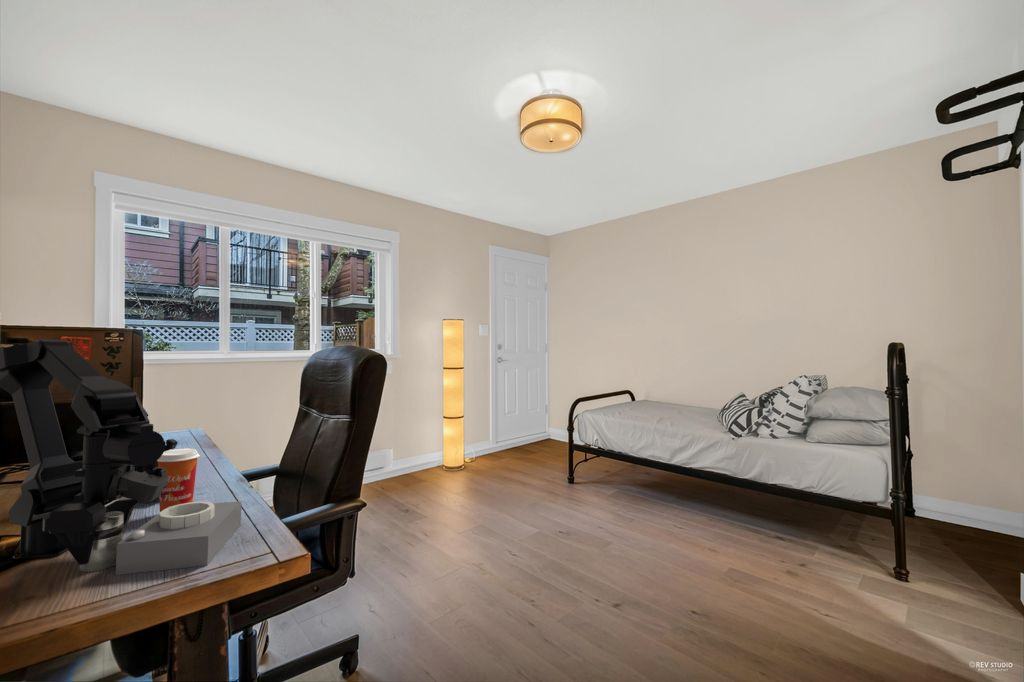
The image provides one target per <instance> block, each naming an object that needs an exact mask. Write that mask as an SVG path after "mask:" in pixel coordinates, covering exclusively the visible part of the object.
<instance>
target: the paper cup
mask: <svg viewBox="0 0 1024 682" xmlns="http://www.w3.org/2000/svg"><path fill="white" fill-rule="evenodd" d="M200 456H201V455H200V454H199V452H198V451H197V449H196V448H174V449H170V450H168V451H164V452H163V454H162V456H161V457H160V458H159V459H158V460H157V461H158V467H161V468H165V469H166V474H167V477H168V480H167V481H168V484H167V485H166V486H164V488H163V490H162V492H161V495H160V497H158V499H159V500H158V501H159V513H160V512H161V511H163V510H164V509H166V508H168V507H169V506H175V505H179V504H184V503H189V502H190V503H191V502H193V501H194V492H195V487H196V485H195V483H196V475H197V467H198V466H197V465H198V458H199V457H200Z"/></svg>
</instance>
